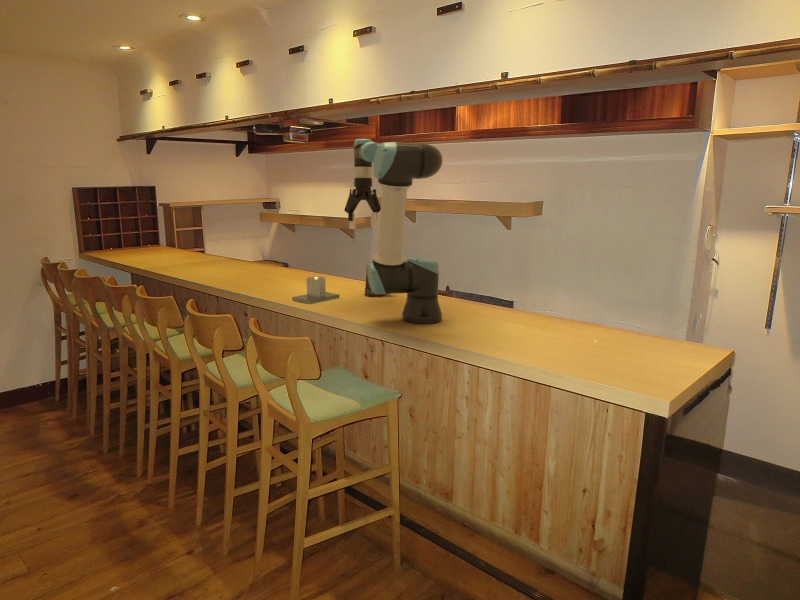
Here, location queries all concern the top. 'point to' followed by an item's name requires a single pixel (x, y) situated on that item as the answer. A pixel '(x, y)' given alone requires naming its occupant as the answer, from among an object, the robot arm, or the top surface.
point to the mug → (368, 290)
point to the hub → (316, 287)
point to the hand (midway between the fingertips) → (363, 228)
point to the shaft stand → (314, 300)
